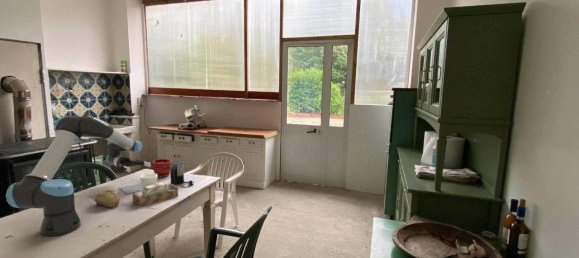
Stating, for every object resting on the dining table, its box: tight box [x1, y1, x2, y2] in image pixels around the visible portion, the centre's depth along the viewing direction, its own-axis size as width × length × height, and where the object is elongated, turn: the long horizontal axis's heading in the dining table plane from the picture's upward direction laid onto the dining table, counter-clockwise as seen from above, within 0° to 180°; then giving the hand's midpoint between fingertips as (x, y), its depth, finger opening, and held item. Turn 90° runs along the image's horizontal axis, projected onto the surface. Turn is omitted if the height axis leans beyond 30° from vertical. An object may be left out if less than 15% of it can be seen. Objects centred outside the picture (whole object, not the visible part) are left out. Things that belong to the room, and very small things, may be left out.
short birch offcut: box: [144, 181, 168, 193], centre depth 175 cm, size 12×4×2 cm, turn 138°
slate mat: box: [118, 182, 143, 195], centre depth 193 cm, size 15×15×1 cm
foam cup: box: [140, 172, 159, 191], centre depth 181 cm, size 10×9×13 cm
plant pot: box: [152, 158, 172, 178], centre depth 220 cm, size 13×13×12 cm
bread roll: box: [94, 190, 120, 208], centre depth 166 cm, size 10×15×8 cm, turn 72°
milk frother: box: [169, 160, 194, 186], centre depth 204 cm, size 14×16×15 cm
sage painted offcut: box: [141, 186, 170, 197], centre depth 175 cm, size 14×4×2 cm, turn 138°
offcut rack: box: [131, 183, 179, 208], centre depth 175 cm, size 24×8×6 cm, turn 138°
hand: (140, 167), depth 185 cm, fingers open, 13 cm apart
